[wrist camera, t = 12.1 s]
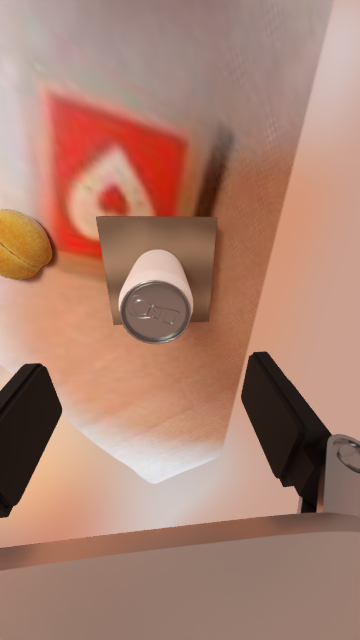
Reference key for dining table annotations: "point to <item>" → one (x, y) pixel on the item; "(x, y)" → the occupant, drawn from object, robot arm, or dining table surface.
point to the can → (156, 298)
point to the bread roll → (22, 245)
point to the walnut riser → (164, 234)
